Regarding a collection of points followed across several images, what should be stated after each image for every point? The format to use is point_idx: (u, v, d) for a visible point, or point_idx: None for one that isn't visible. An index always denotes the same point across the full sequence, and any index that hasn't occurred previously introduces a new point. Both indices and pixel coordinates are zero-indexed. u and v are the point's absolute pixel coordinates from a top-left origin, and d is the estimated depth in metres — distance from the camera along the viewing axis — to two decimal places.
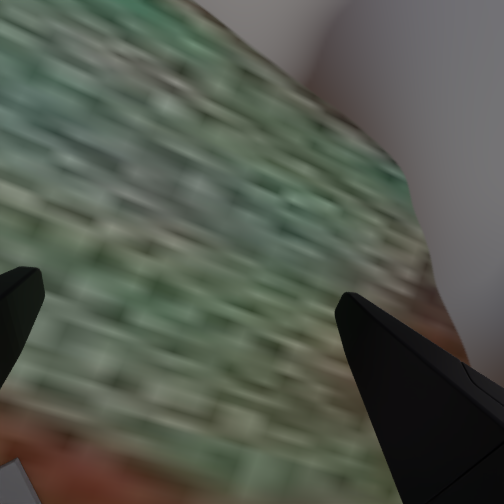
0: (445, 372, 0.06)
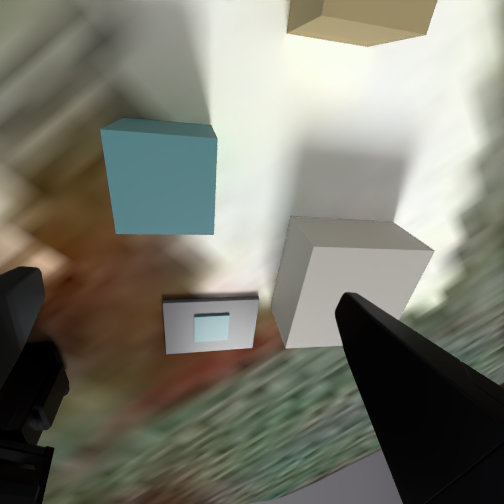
0: (445, 372, 0.06)
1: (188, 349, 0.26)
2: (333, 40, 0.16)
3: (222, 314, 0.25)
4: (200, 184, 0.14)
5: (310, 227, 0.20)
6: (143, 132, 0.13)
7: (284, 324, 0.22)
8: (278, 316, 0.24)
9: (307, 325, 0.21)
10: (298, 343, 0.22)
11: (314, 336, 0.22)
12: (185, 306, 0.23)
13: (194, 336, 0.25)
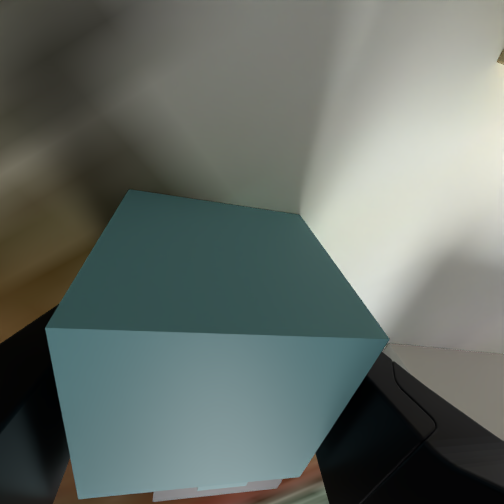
0: (369, 372, 0.06)
1: (186, 495, 0.17)
2: None
3: None
4: (306, 416, 0.06)
5: (431, 381, 0.12)
6: (189, 326, 0.04)
7: None
8: None
9: None
10: None
11: None
12: None
13: None
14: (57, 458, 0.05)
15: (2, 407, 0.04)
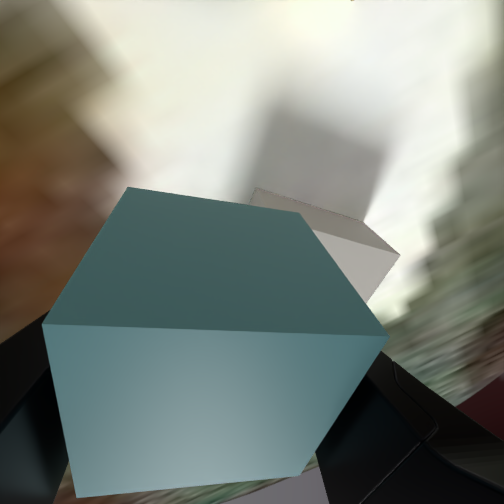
0: (369, 372, 0.06)
1: None
2: None
3: None
4: (305, 414, 0.06)
5: (273, 202, 0.18)
6: (187, 323, 0.04)
7: None
8: None
9: None
10: None
11: None
12: None
13: None
14: (57, 458, 0.05)
15: (2, 407, 0.04)
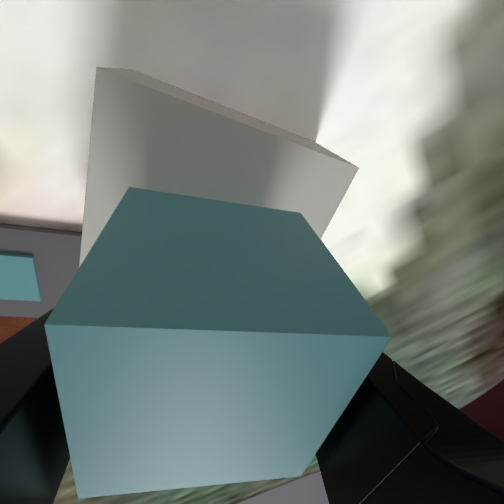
0: (369, 372, 0.06)
1: None
2: None
3: (21, 255, 0.15)
4: (308, 414, 0.06)
5: (145, 78, 0.10)
6: (190, 323, 0.04)
7: None
8: None
9: None
10: None
11: None
12: None
13: None
14: (57, 458, 0.05)
15: (2, 408, 0.04)
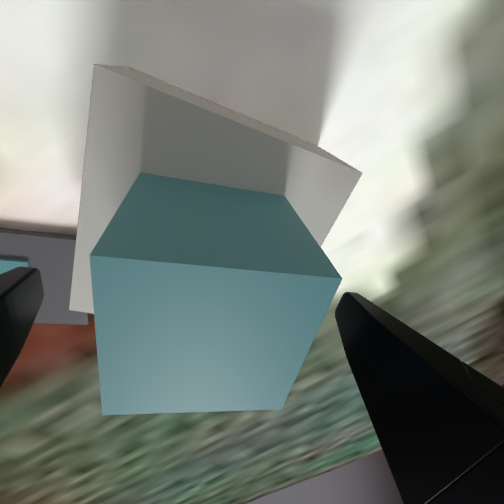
0: (446, 372, 0.06)
1: None
2: None
3: (15, 259, 0.15)
4: (282, 346, 0.07)
5: (145, 77, 0.10)
6: (190, 261, 0.06)
7: None
8: None
9: None
10: None
11: None
12: None
13: None
14: None
15: None
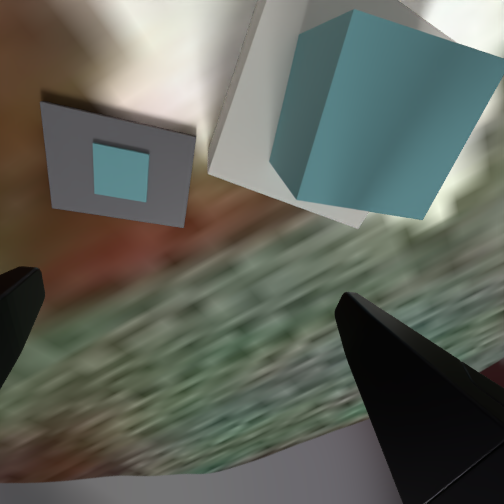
0: (445, 372, 0.06)
1: (86, 207, 0.18)
2: None
3: (139, 152, 0.17)
4: (446, 137, 0.09)
5: None
6: (410, 29, 0.07)
7: (216, 141, 0.14)
8: (213, 144, 0.15)
9: (251, 135, 0.13)
10: (230, 171, 0.14)
11: (258, 166, 0.14)
12: (79, 118, 0.15)
13: (94, 182, 0.17)
14: None
15: None
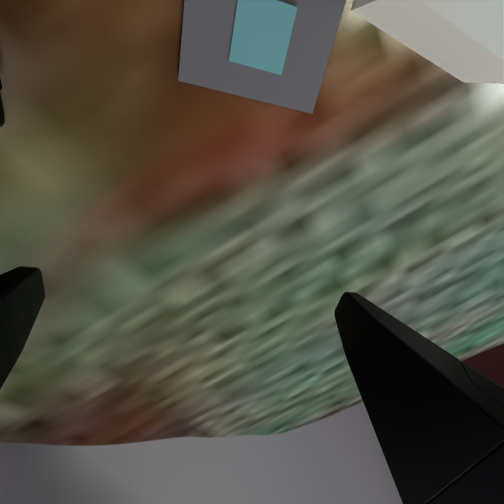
0: (445, 372, 0.06)
1: (215, 81, 0.16)
2: None
3: (285, 5, 0.14)
4: None
5: None
6: None
7: None
8: None
9: None
10: None
11: None
12: None
13: (231, 45, 0.15)
14: None
15: None
